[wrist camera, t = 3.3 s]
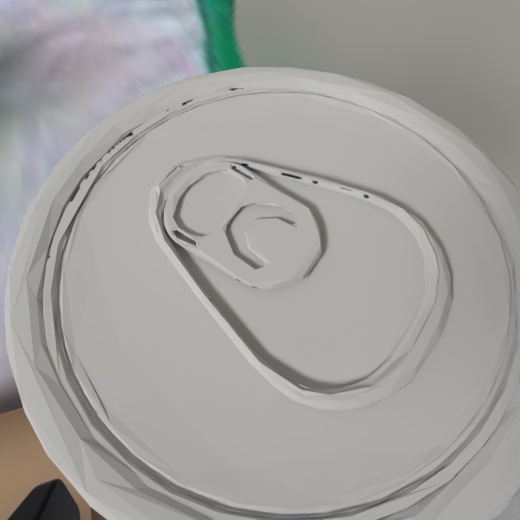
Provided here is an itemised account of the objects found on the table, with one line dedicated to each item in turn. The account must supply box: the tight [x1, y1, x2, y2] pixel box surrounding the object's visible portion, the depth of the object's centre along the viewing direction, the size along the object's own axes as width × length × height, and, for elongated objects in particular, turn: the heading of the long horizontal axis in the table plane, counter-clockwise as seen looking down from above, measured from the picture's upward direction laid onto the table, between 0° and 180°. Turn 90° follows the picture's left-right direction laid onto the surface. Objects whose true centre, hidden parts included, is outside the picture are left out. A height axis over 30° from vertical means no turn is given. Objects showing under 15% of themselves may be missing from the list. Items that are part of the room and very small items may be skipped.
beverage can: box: [4, 67, 520, 520], centre depth 10 cm, size 6×6×15 cm
